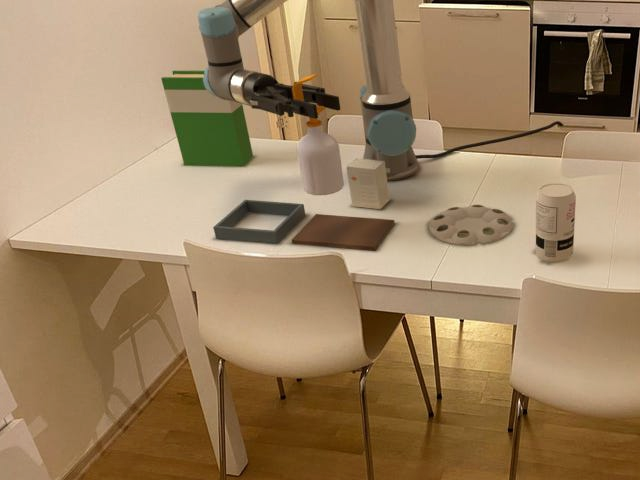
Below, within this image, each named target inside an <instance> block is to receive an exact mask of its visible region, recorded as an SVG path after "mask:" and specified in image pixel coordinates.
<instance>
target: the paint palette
mask: <svg viewBox="0 0 640 480" xmlns="http://www.w3.org/2000/svg"><path fill="white" fill-rule="evenodd" d="M498 221H499V222H502V223H504V224H502V223H499V222H498ZM445 227H446V229H445V230H442V231H439V230H440V229H442V228H445ZM513 227H514V225H513V222H511V218H510V216H508V214H507V213H506V212H505V211H504V210H501V209H498V208H493V209H490V208H487V207H486V206H484V205H482V204H472V205H470V206H468V207H463V208H462V207H459V206H452V207H449V208H447V209H446V210H445V211H444V212H443V213H441V214H439V215H436V216H434V217H433V218H432V219H431V220H430V221H429V232H430V234H431V235H432V237H434V238H435V239H437V240H439V241H441V242H443V243H447V244H451V245H456V246H475V245H476V244H478V243H481V244H482V245H484V244H490V243H494V242H496V241H499V240H501V239H503V238H505V237H506V236H508V234H510V233H511V232H512V231H513ZM491 230H493V231H494V233H493V234H491V235H490V234H486V233H484V232H488V231H491ZM464 234H465V235H466V234H467V235H468V236H465V237H459V236H458V235H464Z"/></svg>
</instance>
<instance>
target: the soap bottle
mask: <svg viewBox="0 0 640 480" xmlns="http://www.w3.org/2000/svg"><path fill="white" fill-rule="evenodd" d="M316 77H318V73H314V74H311V75H307V76H304V77H302V78H300V79H299V80H298V81H296V82H297V83H295V84H294V83H293V84H292V85H291V86H292V92H293V98H294V100H295V99H296V100H300V101H304V97H303V91H302V84H305V83H306V82H309V81H312V80H313V79H315V78H316ZM316 107H317V114H318V116H320V114H321V113H322V112H323V111H325V109H326V108H325V107H324V106H317V105H316ZM308 118H309V120H308V121H306V131H307V132H306V134H305V135H303V136H302V137H301V138H299V139H298V141H297V143H296V153H297V159H298V165H299V166H298V167H299V171H300V177H301V183H302V189H303V191H304V193H306V194H309V195H311V196H312V195H313V196H328V195H333V194H335V193H338V192H340V191H341V190H342V189H343V188H344V186H345V181H344V180H345V179H344V174H343V166H342V158H341V151H340V145H339V142H338V140H337V139H336V137H335V136H333V135H331V134H329V133H328V132H326V131H324V128H323V127H324V126H323V122H322V120H319V119H318V118H316V119H314V118H310V117H308Z"/></svg>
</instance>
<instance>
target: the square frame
mask: <svg viewBox="0 0 640 480" xmlns="http://www.w3.org/2000/svg"><path fill="white" fill-rule="evenodd" d="M249 213H252V214H264V215H265V214H267V215H280V216H287V217H286V218H285V219H283V221H281V222H280V223H279V225H277V227H276V228H275V229H274V230H271V229H260V228H249V227H247V228H246V227H235V225H237V224H238V223H239V222H240V221H241V220H242V219H244V217H245V216H247V215H248V214H249ZM305 217H306V210H305V204H304V203H297V202H296V203H295V202H294V203H293V202H281V201H269V200H257V199H256V200H254V199H244V200H243V201H242V202H240V203H239V204H238V205H237V206H236V207H235V208H234V209H232V210H231V211H230V212H229V213H228V214H226V216H225V217H223V218H222V219H221V220H219V221H218V222H217V223H216V224H215V225H214V226H213V227H212V228H213V233H214V235H215V240H224V241H225V240H226V241H237V242H249V243H261V244H270V245H271V244H272V245H279V243H281V241H283V239H284V238H285V237H286V236H287V235H288V234H289V233H290V232H291V231H292V230H293V229H294V228H295V227H296V226H297V225H298V224H299V223H300V222H301V221H302V220H303V218H305Z"/></svg>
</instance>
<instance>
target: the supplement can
mask: <svg viewBox="0 0 640 480" xmlns="http://www.w3.org/2000/svg"><path fill="white" fill-rule="evenodd" d="M576 201H577V196H576V193H575V192H574V188H573V187H572V186H571V185H568V184H566V183H559V182H553V183H547V184H544V185H541V186H540V188H539V190H538V192H537V194H536V196H535V245H534V247H535V250H534V253H535V255H536V256H537V257H538V258H539V259H540V260H541V261H544V262H546V263H562V262H565V261H567V260H569V259H570V258H571V257H573V255H574V241H575V239H574V238H575V222H576Z"/></svg>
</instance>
